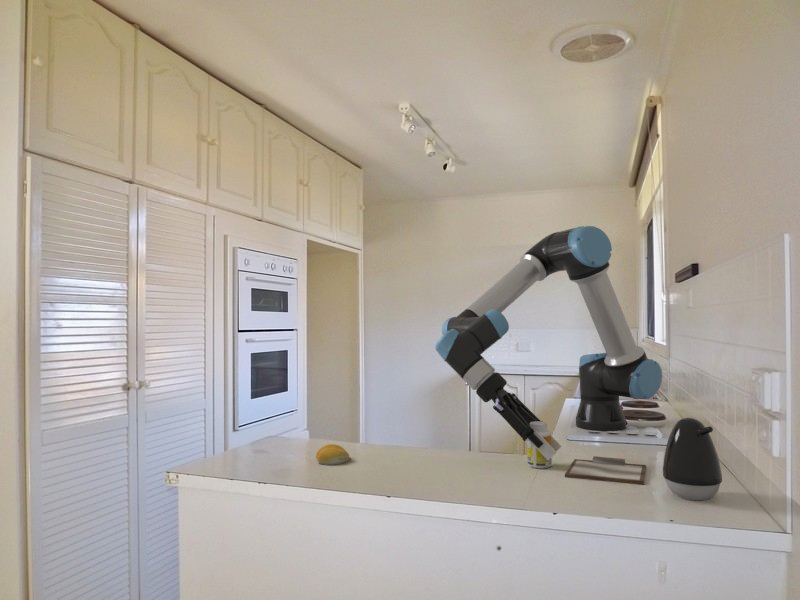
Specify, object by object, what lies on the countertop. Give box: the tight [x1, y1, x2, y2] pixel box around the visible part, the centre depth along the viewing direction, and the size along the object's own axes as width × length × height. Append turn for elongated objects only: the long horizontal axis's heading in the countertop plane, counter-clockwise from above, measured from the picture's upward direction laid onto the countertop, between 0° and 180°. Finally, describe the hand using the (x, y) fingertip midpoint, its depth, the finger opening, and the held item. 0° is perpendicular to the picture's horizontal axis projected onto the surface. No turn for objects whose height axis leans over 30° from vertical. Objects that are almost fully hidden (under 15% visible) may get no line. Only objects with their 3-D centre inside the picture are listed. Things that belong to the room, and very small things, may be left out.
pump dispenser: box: [662, 417, 723, 502], centre depth 109 cm, size 10×10×15 cm
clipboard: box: [564, 455, 647, 485], centre depth 127 cm, size 14×16×2 cm
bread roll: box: [315, 443, 350, 466], centre depth 144 cm, size 8×9×4 cm
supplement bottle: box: [526, 420, 553, 470], centre depth 134 cm, size 6×6×10 cm
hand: (554, 453), depth 132 cm, fingers closed on supplement bottle, 5 cm apart
